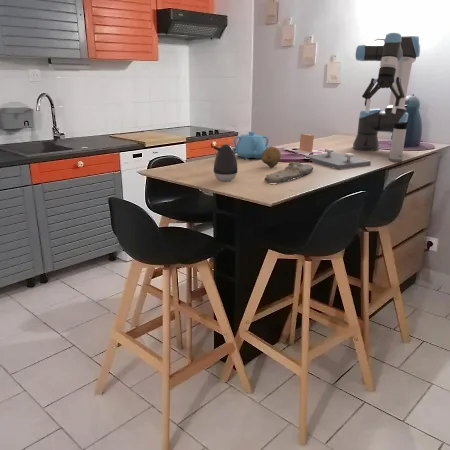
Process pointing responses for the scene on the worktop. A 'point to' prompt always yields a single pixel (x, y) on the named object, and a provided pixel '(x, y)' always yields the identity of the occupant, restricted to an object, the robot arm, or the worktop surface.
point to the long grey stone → (289, 172)
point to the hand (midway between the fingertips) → (379, 113)
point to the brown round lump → (271, 156)
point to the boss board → (338, 160)
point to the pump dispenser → (225, 163)
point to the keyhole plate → (305, 145)
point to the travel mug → (398, 141)
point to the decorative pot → (250, 145)
